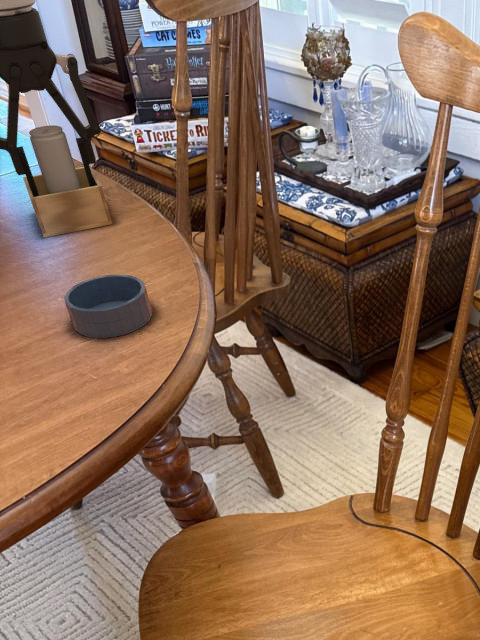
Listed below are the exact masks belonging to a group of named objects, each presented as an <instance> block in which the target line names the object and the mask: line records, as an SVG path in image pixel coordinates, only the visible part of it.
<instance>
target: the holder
mask: <svg viewBox="0 0 480 640" xmlns="http://www.w3.org/2000/svg"><path fill="white" fill-rule="evenodd" d="M89 166H90V170H91V173H92V176H93V180H94V183H95V186H92V187H90V186H89V182H88V179H87V176H86V172H85V169H84V166H80V167H75V169H76V173H77V176H78V179H79V183H80V186H81V189H76V190H70V191H65V192H59V193H54V194H48V192H47V189H46V186H45V183H44V180H43V177H42V174H41V173H40V174H35V175H33V178H34V181H35V184H36V187H37V190H38V193H39V196H37V197H33V194H32V191H31V189H30V186H29V183H28V180H27V177H26V176H23V177H22V179H23V182H24V186H25V188H26V191H27V194H28V197H29V199H30V202H31V205H32V208H33V211H34V214H35V216H36V220H37V222H38V225H39V228H40V230H41V233H42V237H43V238H49V237H54V236H60V235H63V234H70V233H74V232H80V231H84V230H89V229H94V228H99V227H104V226H109V225H113V221H112V218H111V214H110V210H109V206H108V202H107V200H106V196H105V193H104V189H103V185H102V184H101V182H100V181H99V179H98V177H97V175H96V173H95V172H94V169H93V167H92V166H91V165H89Z"/></svg>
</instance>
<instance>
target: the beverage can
mask: <svg viewBox="0 0 480 640" xmlns="http://www.w3.org/2000/svg"><path fill="white" fill-rule="evenodd" d="M63 129H64V128H63V127H62V126H60V125H51V124H50V125H42V126H37V127H34V128H32V129H31V130H30V131H28V134H29V141H30V143H31V146H32V149H33V153H34V155H35V159H36V161H37V165H38V168H39V170H40V174H42V177H43V180H44V183H45V186H46V189H47V192H48V194H54V193H59V192H65V191H70V190H76V189H81V186H80V183H79V179H78V176H77V173H76V169H75V168H76V166H75V163H74V159H73V156H72V152H71V149H70V145H69V142H68V139H67V135H66V133H65V132H64V130H63Z"/></svg>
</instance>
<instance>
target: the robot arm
mask: <svg viewBox="0 0 480 640" xmlns="http://www.w3.org/2000/svg"><path fill="white" fill-rule="evenodd" d="M35 3H36V0H0V79H1V80H2V81H3V82H5V83H6V84H7V85H8V96H7V97H8V98H7V121H6V137H2V136H0V150H3V151H6V153H8V154H9V157H10V159H11V162H12V165H13V168H14V171H15V173H16V174H17V175H18V176H24V175H25V177H27V180H28V183H29V186H30V189H31V191H32V194H33V197H37V196H39V193H38V190H37V187H36V184H35V181H34V178H33V176H34V175H33V173H32V170H31V168H30V164H29V161H28V158H27V156H26V152H25V149H24V146H22V145H21V146H18V133H19V132H18V131H19V129H18V128H19V108H20V96H21V95H20V94H25V93H29V92H31V91H37V92H41V91H46V92H47V94H48V95H49V96H50V98H51V99H52V100H53V101H54V103H55V104H56V106H57V107H58V108H59V110H60V111H61V112H62V114H63V116H64V117H65V118H66V119H67V121H68V123H69V124H70V125H71V127H72V128H73V129H74V130H75V132H76V134H77V135H78V136H79V137H76V138H75V142H76V145H77V148H78V152H79V155H80V158H81V162H82V165H83V167H84V169H85V172H86V176H87V179H88V182H89V186H90V187H92V186H95V183H94V180H93V176H92V173H91V170H90V166H91V165H94V164H97V163H96V162H97V158H96V155H95V152H94V148H93V144H92V139H93V137H95V136H97V135H100V134H101V133H102V129H101V126H100V124H99V121H98V119H97V117H96V115H95V112H94V109H93V108H92V105H91V102H90V100H89V98H88V95H87V93H86V91H85V88H84V85H83V83H82V81H81V79H80V74H79V62H78V59H77V58H76V55H75V54H73V53H67V55H66V54H58V53H55V52H54V51H53V49H51V47H50V45H49V41H48V39H47V34H46V31H45V29H44V24H43V21H42V19H41V14H40V12H39V10H37V9H36V8H35V7H33V6H34V5H35ZM57 65H59V66H60V67H61V70H62V72H63V73H64V74H67V75H68V78H69V79H70V82H71V85H72V87H73V89H74V91H75V93H76V96H77V98H78V101H79V103H80V105H81V109H82V111H83V112H84V115H85V117H86V120H87V122H88V125H86V126H85V125H84V123H83V122H82V121H81V120H80V117H78V115H77V114H76V112H75V111H74V110H73V108H72V106H70V104H69V103H68V101H67V100H66V98H65V97H64V96H63V94H62V92H61V91H60V90H59V88H58V87H57V85H56V84H55V82H54V81H53V79H52V78H53V75H54V72H55V69H56V66H57Z"/></svg>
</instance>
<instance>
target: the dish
mask: <svg viewBox="0 0 480 640" xmlns="http://www.w3.org/2000/svg"><path fill="white" fill-rule="evenodd" d="M63 301H64V304H65V307H66V310H67V312H68V316H69V319H70V322H71V324H72V326H73V328H74V330H75V332H77V333H78V334H80V335H82V336H84V337H87V338H94V339H107V338H115V337H120V336H124V335H127V334H130V333H132V332H133V333H134V332H136V331H137V330H139V329H142V327H144V326H145V325H147V324H148V322H149V321H150V320H151V318H152V316H153V309H152V305H151V301H150V297H149V294H148V291H147V287H146V284H145V282H144V281H143V280H141V278H139V277H137V276H133V275H130V274H105V275H100V276H96V277H95V276H94V277H91V278H89V279H85V280H83V281H81V282H79V283H76V284H74V285H73V286H72V287H70V288H69V289H68V291H66V293H65V295H64V296H63Z"/></svg>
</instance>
